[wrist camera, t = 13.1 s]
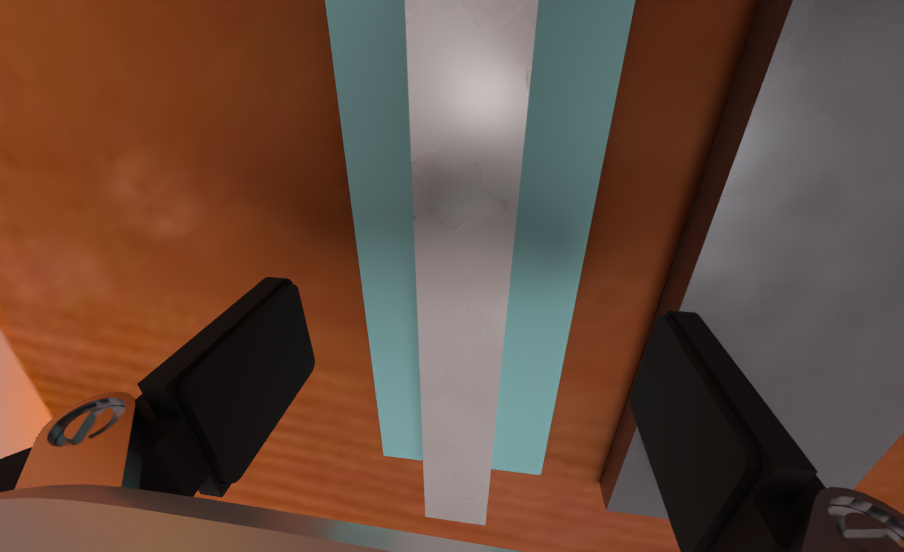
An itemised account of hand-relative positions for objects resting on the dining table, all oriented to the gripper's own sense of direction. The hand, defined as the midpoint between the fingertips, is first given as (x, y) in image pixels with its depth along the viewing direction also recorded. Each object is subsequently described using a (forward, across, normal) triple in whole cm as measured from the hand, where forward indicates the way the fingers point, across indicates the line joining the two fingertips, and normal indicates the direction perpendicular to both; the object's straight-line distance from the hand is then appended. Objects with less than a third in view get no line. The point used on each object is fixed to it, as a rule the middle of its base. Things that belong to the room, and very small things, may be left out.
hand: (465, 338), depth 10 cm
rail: (+5, 0, 0) cm, 5 cm away
